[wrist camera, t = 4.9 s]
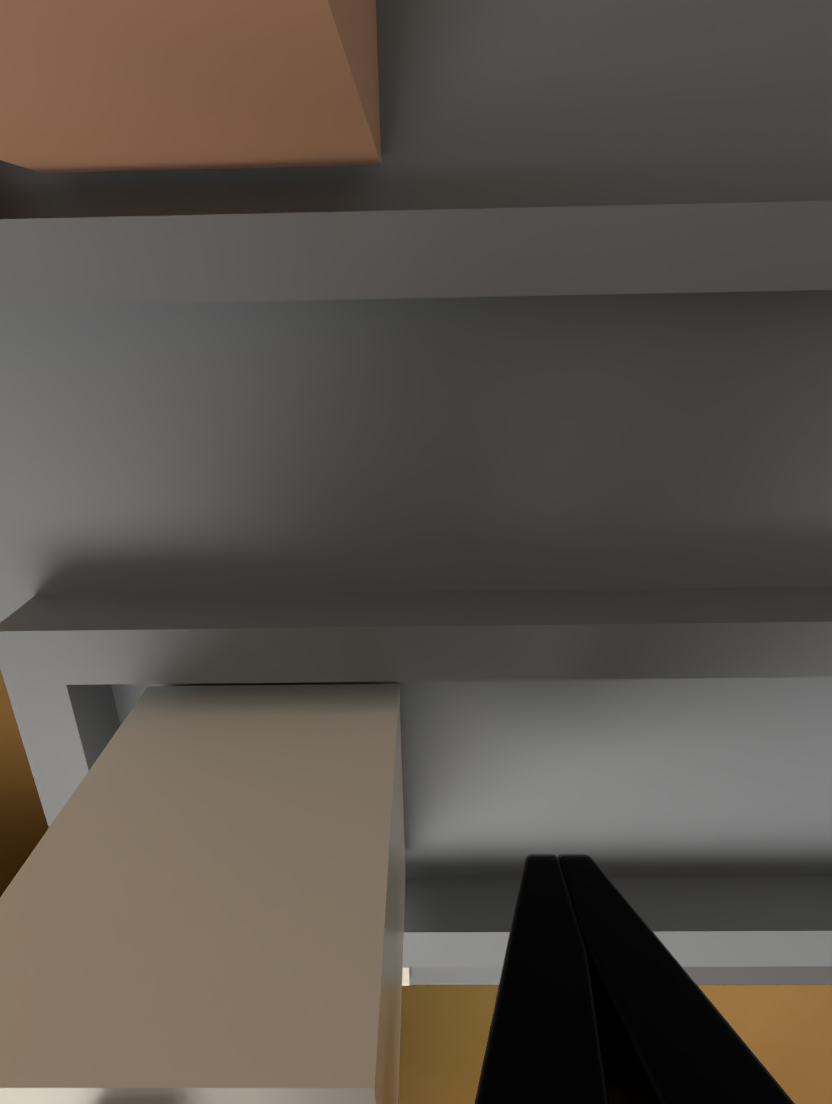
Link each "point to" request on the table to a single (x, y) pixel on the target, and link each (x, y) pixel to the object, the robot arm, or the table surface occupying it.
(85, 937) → the tab
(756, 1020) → the table surface
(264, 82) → the tab
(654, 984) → the robot arm
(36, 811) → the table surface
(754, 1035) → the table surface
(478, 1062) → the table surface
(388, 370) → the switch board
